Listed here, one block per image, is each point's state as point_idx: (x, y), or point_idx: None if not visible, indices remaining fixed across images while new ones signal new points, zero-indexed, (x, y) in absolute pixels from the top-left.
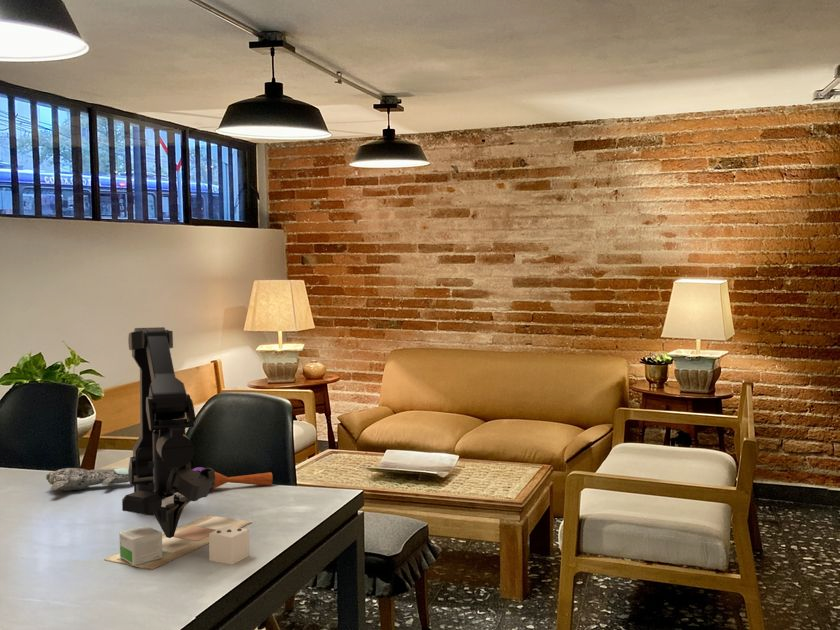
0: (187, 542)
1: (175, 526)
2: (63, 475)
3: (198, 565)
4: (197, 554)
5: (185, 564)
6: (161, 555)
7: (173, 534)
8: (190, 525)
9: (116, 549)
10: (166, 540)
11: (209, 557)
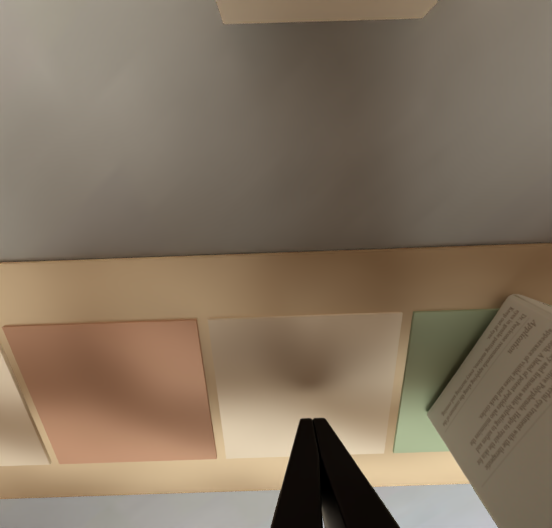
0: (244, 345)
1: (303, 475)
2: None
3: (535, 18)
4: (353, 182)
5: (532, 124)
6: (534, 300)
7: (305, 428)
8: (57, 478)
9: (422, 511)
10: (271, 437)
11: (435, 3)
